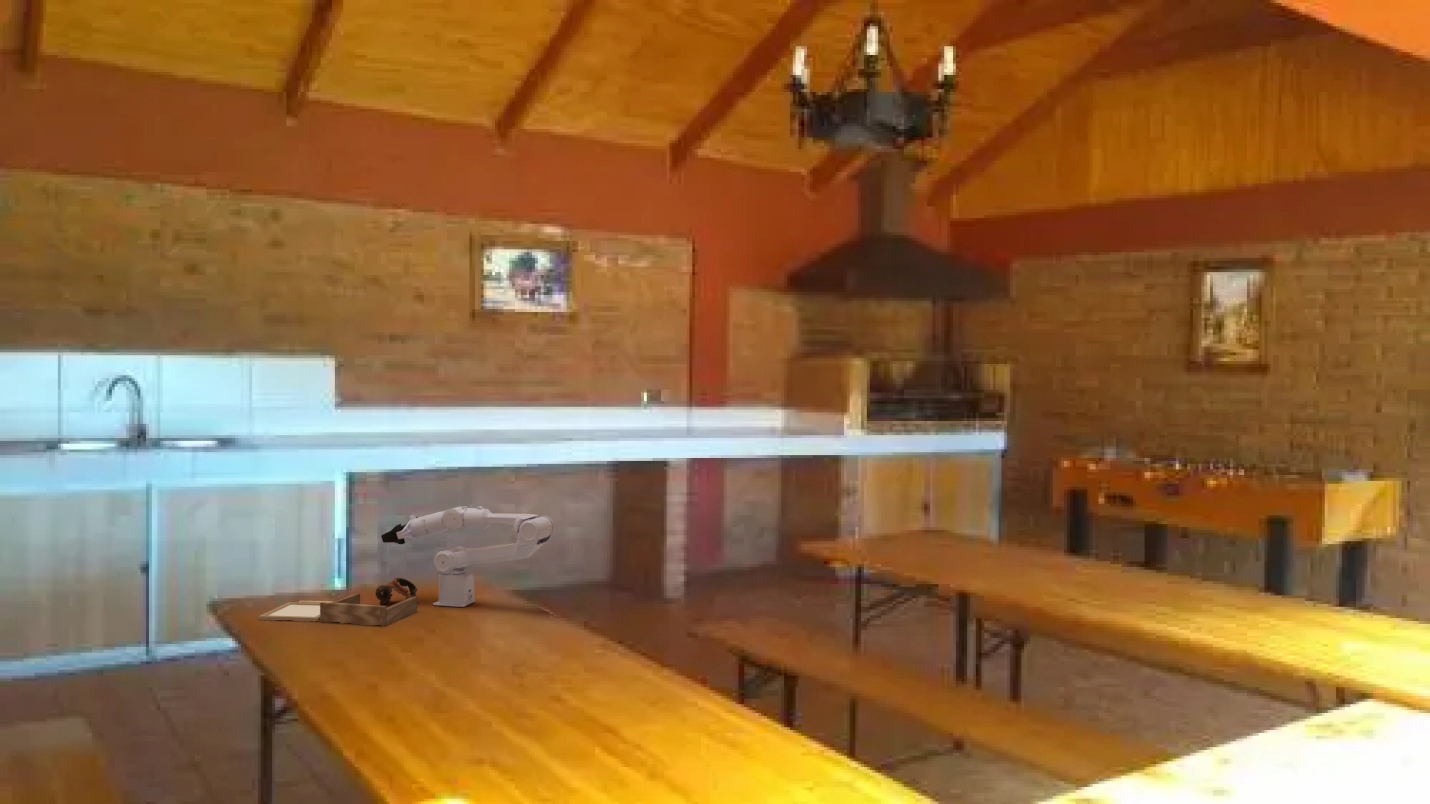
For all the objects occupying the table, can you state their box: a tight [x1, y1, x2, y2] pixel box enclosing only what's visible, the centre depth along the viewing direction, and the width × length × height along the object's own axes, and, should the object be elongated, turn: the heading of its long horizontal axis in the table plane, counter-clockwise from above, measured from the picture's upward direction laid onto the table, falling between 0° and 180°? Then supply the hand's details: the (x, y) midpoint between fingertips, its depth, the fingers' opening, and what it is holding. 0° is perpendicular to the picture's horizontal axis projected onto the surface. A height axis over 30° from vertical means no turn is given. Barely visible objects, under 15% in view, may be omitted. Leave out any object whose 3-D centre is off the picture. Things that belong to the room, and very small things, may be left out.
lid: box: [258, 600, 335, 623], centre depth 304 cm, size 16×20×1 cm
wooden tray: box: [320, 592, 418, 627], centre depth 300 cm, size 18×18×5 cm
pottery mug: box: [375, 577, 418, 606], centre depth 315 cm, size 12×10×8 cm
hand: (390, 535), depth 323 cm, fingers open, 7 cm apart
